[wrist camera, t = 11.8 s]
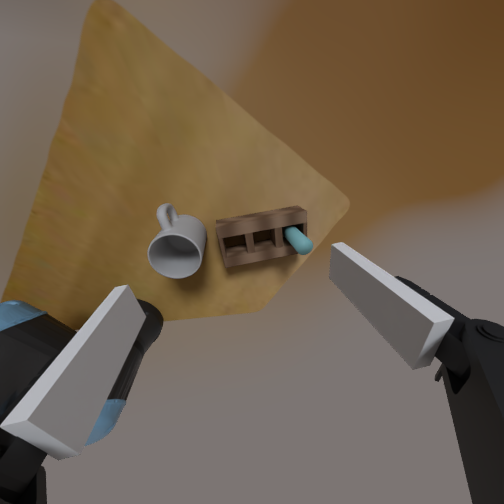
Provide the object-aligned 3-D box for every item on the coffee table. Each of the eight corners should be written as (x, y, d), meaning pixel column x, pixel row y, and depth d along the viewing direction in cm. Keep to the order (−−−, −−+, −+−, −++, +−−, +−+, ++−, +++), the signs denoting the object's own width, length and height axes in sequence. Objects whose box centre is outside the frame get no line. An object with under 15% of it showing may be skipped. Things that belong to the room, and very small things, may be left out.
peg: (279, 234, 43) (296, 255, 33) (279, 221, 41) (296, 240, 32) (291, 232, 43) (312, 253, 33) (291, 220, 42) (313, 238, 32)
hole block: (225, 256, 43) (225, 267, 39) (216, 220, 39) (215, 228, 35) (298, 242, 45) (307, 251, 40) (297, 205, 40) (307, 211, 36)
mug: (212, 245, 42) (209, 271, 32) (175, 255, 41) (161, 285, 32) (192, 192, 36) (181, 204, 26) (149, 203, 36) (123, 219, 26)
